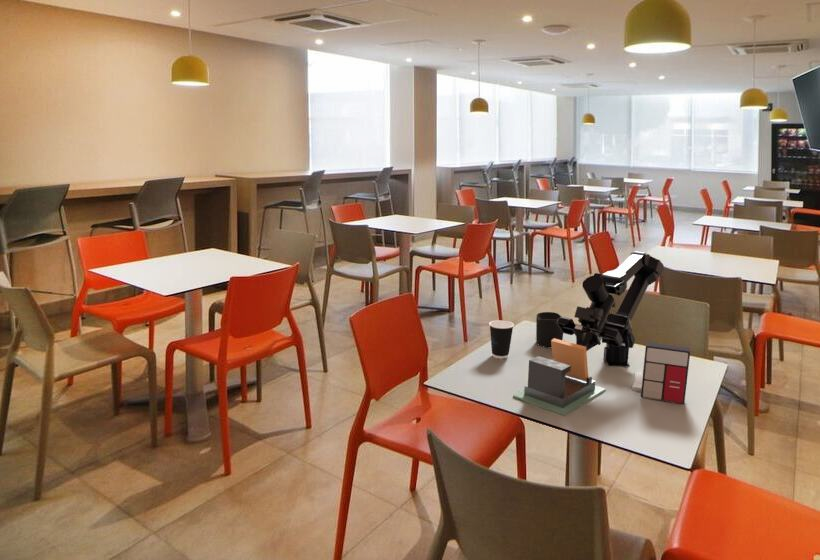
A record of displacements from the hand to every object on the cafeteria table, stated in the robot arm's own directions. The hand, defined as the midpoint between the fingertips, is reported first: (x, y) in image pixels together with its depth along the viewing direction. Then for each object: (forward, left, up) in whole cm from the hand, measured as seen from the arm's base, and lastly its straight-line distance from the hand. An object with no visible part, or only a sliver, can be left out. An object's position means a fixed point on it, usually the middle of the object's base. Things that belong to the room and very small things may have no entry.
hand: (576, 356), depth 175 cm
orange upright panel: (+2, +2, -5) cm, 6 cm away
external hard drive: (-22, -2, -10) cm, 24 cm away
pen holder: (+1, -36, -9) cm, 37 cm away
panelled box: (-22, +8, -9) cm, 25 cm away
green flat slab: (+5, +6, -9) cm, 12 cm away
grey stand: (+5, +6, -8) cm, 12 cm away
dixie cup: (+19, -23, -9) cm, 31 cm away
